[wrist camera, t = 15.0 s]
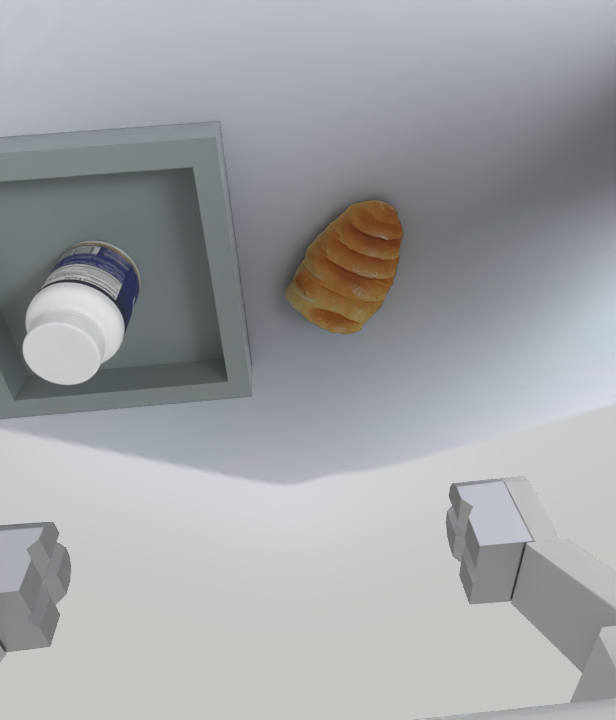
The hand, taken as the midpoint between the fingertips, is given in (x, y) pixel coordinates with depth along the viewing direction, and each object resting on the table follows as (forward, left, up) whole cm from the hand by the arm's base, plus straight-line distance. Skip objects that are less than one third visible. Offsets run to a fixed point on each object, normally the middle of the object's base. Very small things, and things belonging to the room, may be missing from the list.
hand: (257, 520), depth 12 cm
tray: (+11, +7, -29) cm, 32 cm away
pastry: (-5, +8, -30) cm, 31 cm away
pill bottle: (+11, +7, -28) cm, 31 cm away
